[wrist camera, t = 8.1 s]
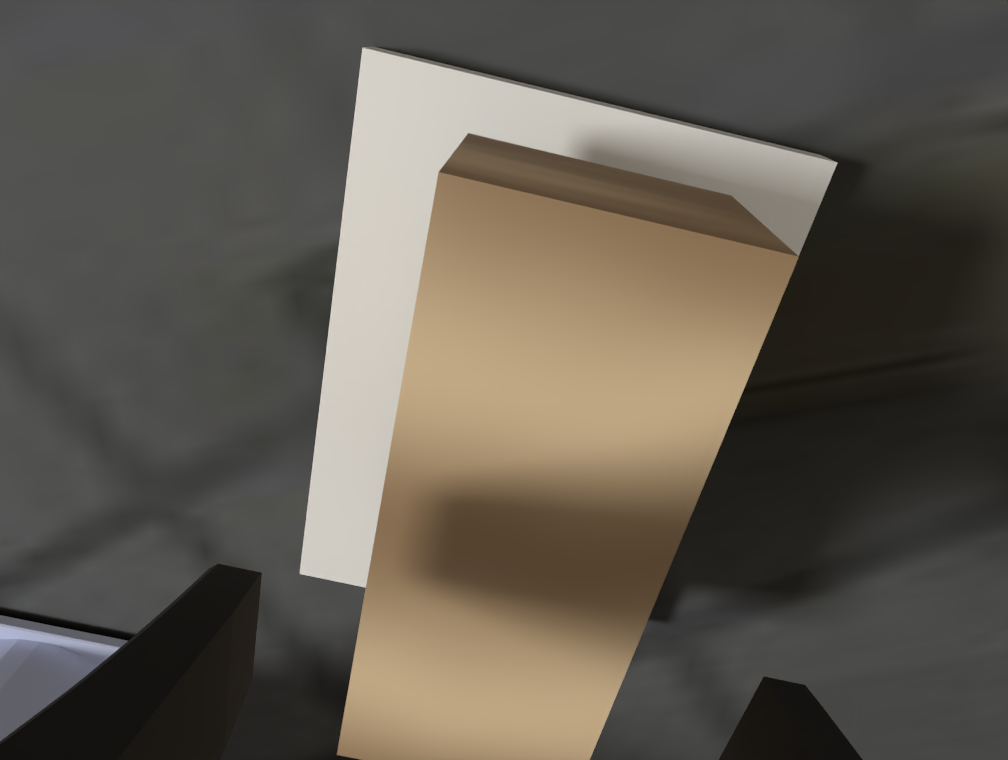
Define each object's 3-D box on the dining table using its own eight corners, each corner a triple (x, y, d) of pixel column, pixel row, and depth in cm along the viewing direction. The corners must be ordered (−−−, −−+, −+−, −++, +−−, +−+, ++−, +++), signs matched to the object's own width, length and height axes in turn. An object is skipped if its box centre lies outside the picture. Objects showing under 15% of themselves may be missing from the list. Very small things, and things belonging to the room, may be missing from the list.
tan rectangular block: (567, 651, 19) (572, 801, 15) (378, 613, 18) (336, 754, 15) (731, 195, 13) (799, 256, 10) (468, 132, 13) (439, 171, 10)
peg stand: (633, 618, 22) (645, 701, 19) (310, 551, 21) (275, 625, 19) (821, 155, 16) (876, 180, 13) (373, 46, 15) (336, 50, 13)
